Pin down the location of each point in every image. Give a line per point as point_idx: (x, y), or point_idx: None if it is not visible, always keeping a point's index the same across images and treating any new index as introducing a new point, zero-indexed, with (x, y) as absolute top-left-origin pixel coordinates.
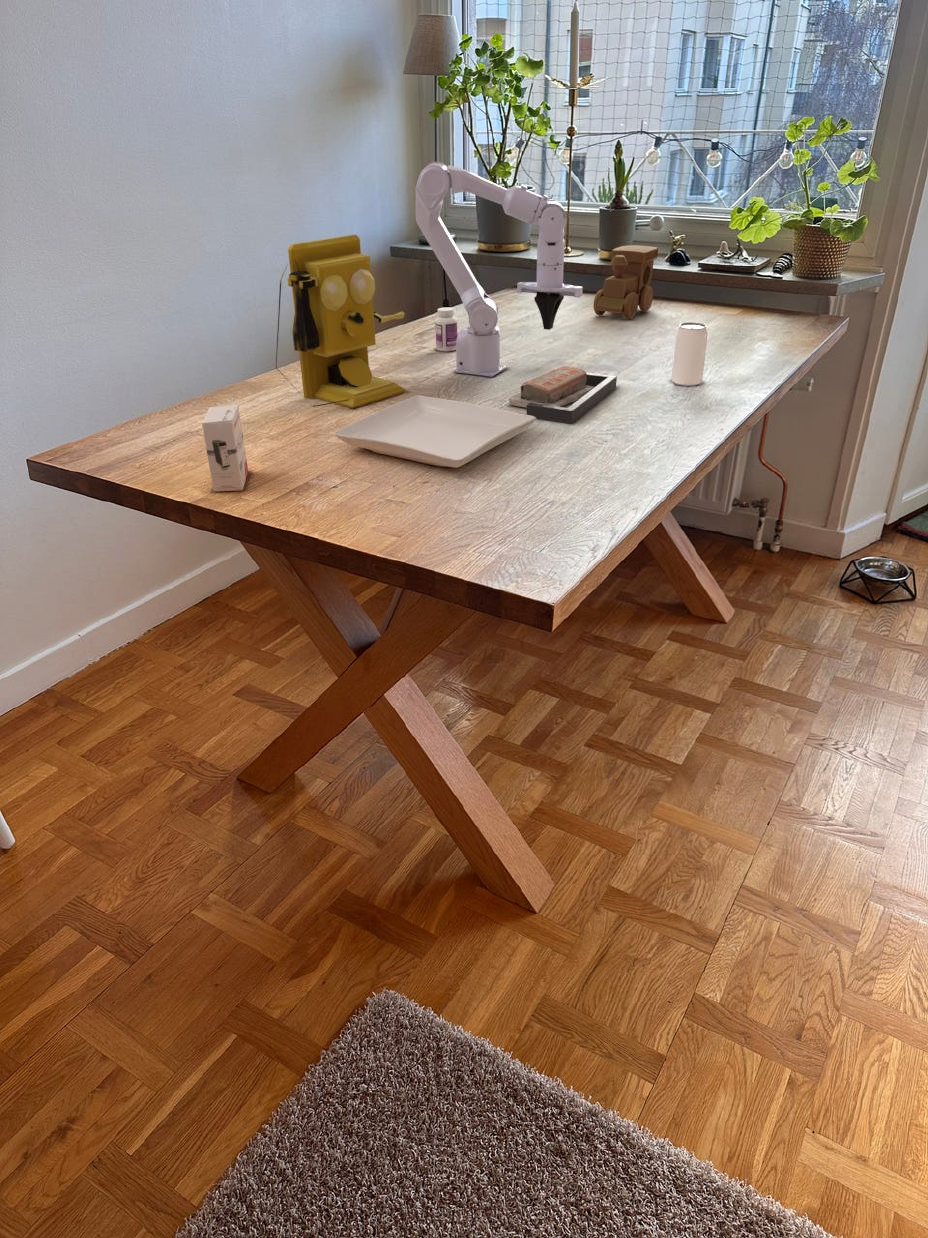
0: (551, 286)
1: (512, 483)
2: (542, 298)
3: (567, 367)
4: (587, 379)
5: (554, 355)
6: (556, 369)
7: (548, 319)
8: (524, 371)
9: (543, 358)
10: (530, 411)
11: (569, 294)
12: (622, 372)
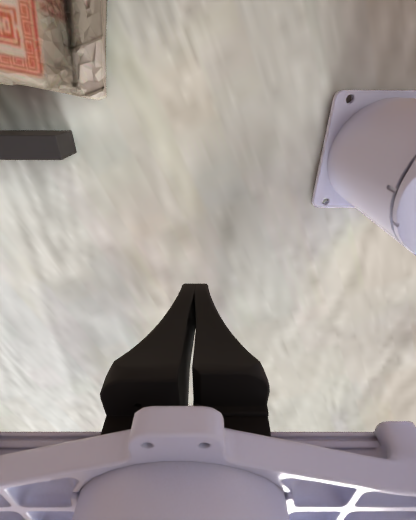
0: (115, 479)
1: None
2: (199, 372)
3: (11, 62)
4: (10, 132)
5: (233, 335)
6: (30, 7)
7: (180, 304)
8: (254, 200)
9: (248, 311)
10: None
11: (36, 441)
12: (35, 281)
